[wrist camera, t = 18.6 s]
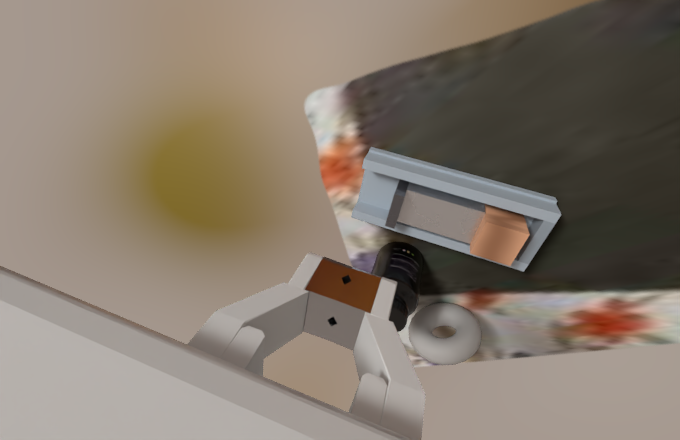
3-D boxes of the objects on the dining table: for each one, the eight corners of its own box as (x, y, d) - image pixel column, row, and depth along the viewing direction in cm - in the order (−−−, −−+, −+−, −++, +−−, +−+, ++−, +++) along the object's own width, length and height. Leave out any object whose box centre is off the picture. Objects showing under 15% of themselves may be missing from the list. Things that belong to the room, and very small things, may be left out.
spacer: (522, 211, 38) (529, 234, 34) (505, 241, 41) (510, 266, 37) (483, 200, 39) (486, 221, 35) (469, 230, 41) (469, 253, 37)
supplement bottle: (411, 283, 50) (399, 347, 40) (371, 264, 51) (349, 323, 41) (432, 252, 46) (424, 315, 36) (388, 232, 47) (369, 288, 37)
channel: (555, 197, 37) (563, 212, 34) (518, 256, 42) (522, 273, 39) (371, 146, 41) (364, 156, 38) (357, 206, 46) (350, 219, 43)
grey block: (484, 200, 39) (486, 221, 35) (469, 230, 41) (470, 252, 37) (400, 176, 40) (394, 193, 37) (391, 207, 43) (384, 225, 39)
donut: (414, 313, 53) (406, 367, 45) (411, 297, 52) (401, 349, 44) (481, 315, 49) (485, 374, 41) (479, 298, 48) (482, 355, 40)
